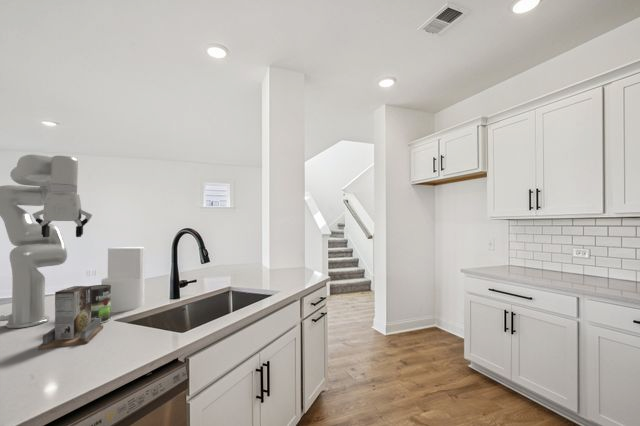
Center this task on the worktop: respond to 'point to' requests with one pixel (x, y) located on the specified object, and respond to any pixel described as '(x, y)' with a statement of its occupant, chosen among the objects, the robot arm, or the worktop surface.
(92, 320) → the dock
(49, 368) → the worktop surface
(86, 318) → the coffee box
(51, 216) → the robot arm
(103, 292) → the coffee can
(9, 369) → the worktop surface
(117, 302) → the tall white block
